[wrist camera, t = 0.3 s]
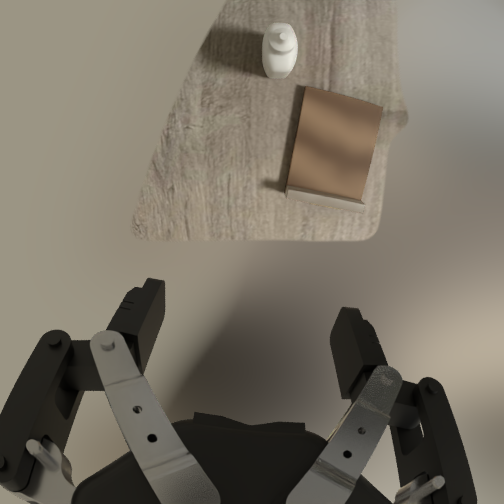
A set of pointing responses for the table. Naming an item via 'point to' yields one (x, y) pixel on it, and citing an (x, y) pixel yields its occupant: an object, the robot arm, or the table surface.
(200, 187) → the table surface
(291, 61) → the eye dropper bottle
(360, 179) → the walnut shelf board
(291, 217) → the table surface
